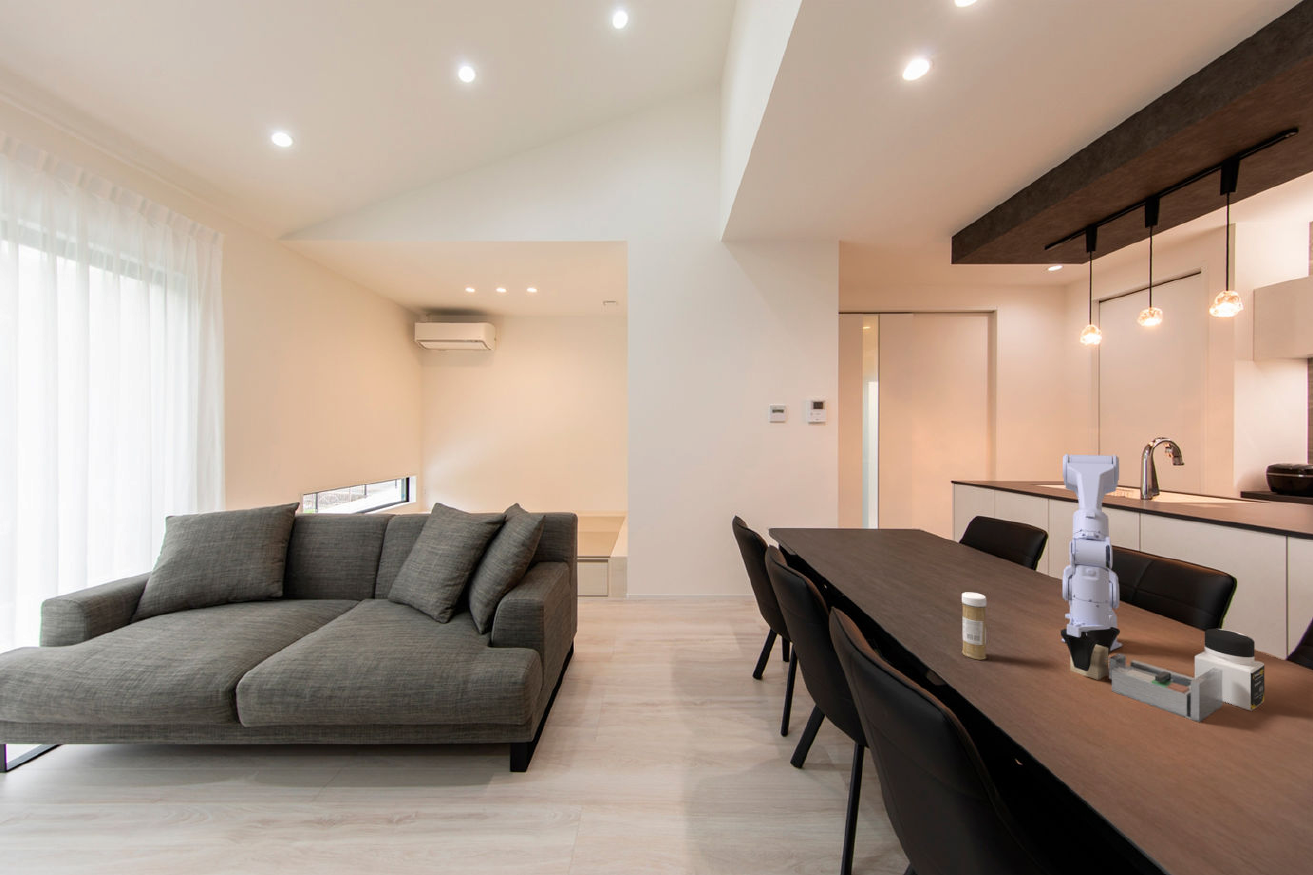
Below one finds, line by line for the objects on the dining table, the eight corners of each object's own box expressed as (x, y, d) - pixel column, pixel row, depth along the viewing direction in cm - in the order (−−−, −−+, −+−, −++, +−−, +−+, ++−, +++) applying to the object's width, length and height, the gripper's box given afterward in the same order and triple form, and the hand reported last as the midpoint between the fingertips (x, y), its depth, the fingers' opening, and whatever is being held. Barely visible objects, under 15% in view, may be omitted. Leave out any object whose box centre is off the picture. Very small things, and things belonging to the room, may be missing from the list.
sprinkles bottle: (990, 657, 108) (990, 595, 108) (980, 662, 105) (980, 599, 105) (967, 649, 112) (967, 590, 112) (957, 654, 109) (957, 593, 109)
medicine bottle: (1252, 711, 86) (1252, 643, 86) (1194, 693, 93) (1193, 629, 93) (1265, 701, 90) (1265, 635, 90) (1208, 684, 96) (1208, 622, 96)
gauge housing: (1137, 678, 98) (1137, 645, 98) (1222, 705, 88) (1222, 669, 88) (1111, 691, 93) (1111, 656, 93) (1199, 722, 83) (1199, 683, 83)
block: (1080, 665, 104) (1080, 639, 104) (1108, 674, 100) (1108, 647, 100) (1070, 670, 102) (1070, 643, 102) (1097, 679, 98) (1097, 652, 98)
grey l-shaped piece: (1119, 673, 98) (1119, 651, 98) (1178, 692, 91) (1178, 668, 91) (1101, 681, 95) (1101, 659, 95) (1161, 702, 87) (1161, 677, 87)
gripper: (1083, 588, 108) (1083, 650, 108) (1049, 598, 101) (1049, 664, 101) (1125, 597, 101) (1125, 663, 101) (1092, 608, 95) (1091, 679, 95)
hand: (1090, 664), depth 101 cm, fingers open, 7 cm apart
